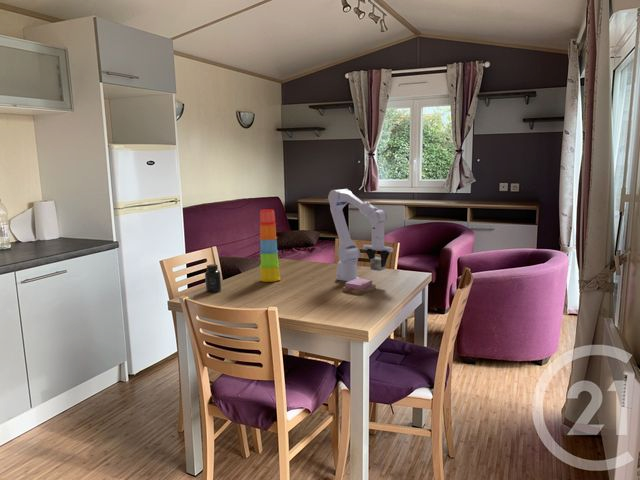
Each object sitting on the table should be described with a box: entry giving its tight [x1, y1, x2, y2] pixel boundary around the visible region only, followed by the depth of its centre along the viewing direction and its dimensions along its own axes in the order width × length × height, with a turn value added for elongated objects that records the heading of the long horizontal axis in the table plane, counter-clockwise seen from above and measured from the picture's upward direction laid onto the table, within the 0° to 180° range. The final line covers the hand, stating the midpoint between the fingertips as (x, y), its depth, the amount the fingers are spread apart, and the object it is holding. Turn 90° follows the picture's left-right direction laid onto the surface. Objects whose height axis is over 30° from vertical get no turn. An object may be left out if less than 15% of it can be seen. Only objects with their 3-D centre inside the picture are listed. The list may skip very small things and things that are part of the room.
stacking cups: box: [259, 209, 282, 283], centre depth 237 cm, size 10×10×35 cm
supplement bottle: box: [204, 263, 222, 294], centre depth 221 cm, size 7×7×12 cm
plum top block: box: [344, 277, 373, 290], centre depth 218 cm, size 8×10×2 cm
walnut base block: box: [341, 283, 377, 295], centre depth 219 cm, size 10×12×2 cm
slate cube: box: [369, 256, 387, 272], centre depth 223 cm, size 5×5×5 cm
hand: (377, 266), depth 223 cm, fingers closed on slate cube, 5 cm apart
